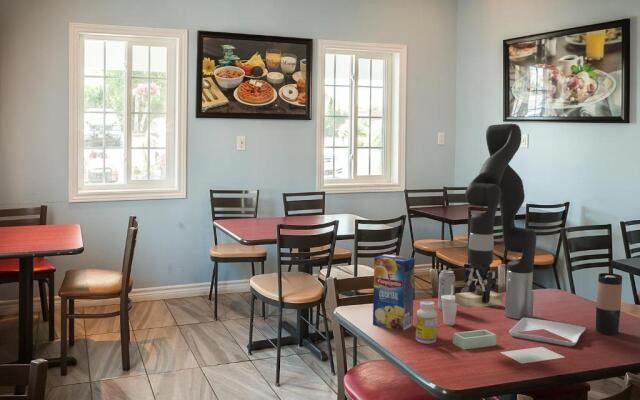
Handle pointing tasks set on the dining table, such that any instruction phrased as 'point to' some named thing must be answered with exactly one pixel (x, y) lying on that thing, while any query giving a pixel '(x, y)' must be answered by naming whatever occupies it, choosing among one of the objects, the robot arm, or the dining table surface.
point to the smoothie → (449, 308)
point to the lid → (477, 299)
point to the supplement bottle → (426, 323)
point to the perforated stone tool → (476, 289)
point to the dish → (474, 339)
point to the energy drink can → (445, 285)
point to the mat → (532, 355)
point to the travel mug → (608, 303)
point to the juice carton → (393, 291)
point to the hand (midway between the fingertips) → (478, 299)
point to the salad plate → (555, 327)
